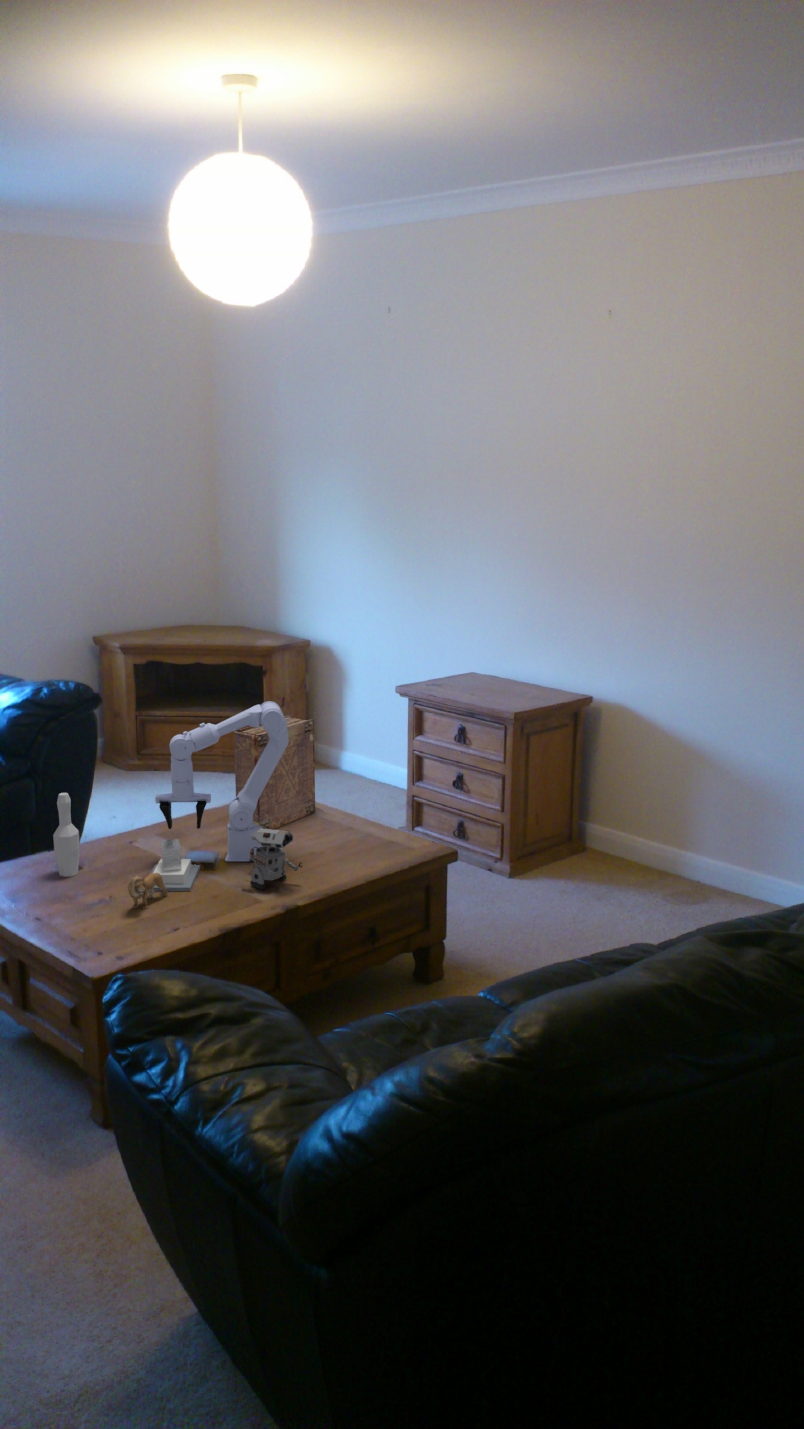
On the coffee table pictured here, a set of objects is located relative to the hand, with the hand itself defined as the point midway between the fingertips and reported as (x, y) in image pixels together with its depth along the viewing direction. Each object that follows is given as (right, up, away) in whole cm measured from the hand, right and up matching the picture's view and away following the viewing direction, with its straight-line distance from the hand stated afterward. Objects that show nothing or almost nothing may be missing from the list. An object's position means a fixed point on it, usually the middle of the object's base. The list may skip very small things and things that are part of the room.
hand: (184, 827), depth 296 cm
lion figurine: (-4, -16, -26) cm, 31 cm away
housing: (-1, -9, -11) cm, 14 cm away
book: (+21, -2, +35) cm, 41 cm away
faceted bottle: (-29, -12, -7) cm, 32 cm away
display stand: (-1, -12, -10) cm, 16 cm away
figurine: (+26, -14, -14) cm, 32 cm away
